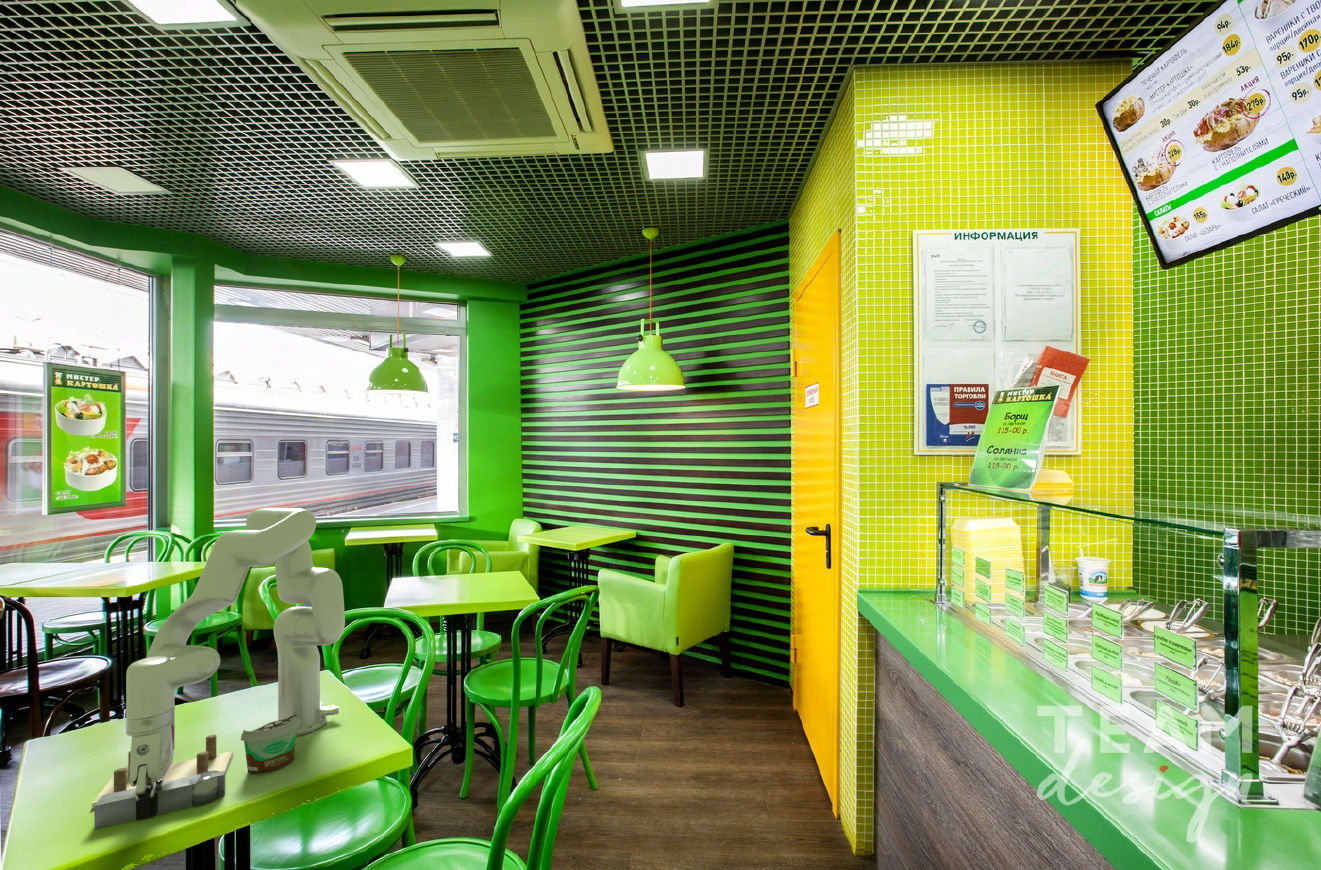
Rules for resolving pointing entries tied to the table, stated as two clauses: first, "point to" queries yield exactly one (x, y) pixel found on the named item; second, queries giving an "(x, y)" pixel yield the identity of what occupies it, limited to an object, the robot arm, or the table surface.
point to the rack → (174, 769)
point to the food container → (271, 745)
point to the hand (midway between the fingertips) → (150, 810)
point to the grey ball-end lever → (161, 798)
